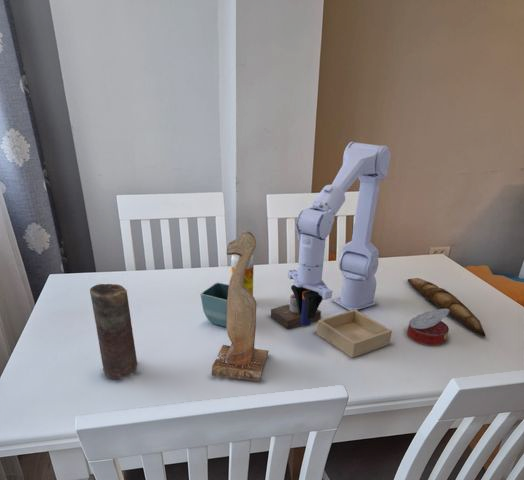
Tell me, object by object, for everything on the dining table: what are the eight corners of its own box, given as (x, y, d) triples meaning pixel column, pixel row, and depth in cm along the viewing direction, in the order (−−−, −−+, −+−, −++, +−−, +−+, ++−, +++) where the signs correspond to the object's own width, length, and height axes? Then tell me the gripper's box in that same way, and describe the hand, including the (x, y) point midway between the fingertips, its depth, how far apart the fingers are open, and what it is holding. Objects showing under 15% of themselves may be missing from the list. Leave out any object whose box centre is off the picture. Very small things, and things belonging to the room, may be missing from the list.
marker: (306, 320, 119) (309, 289, 115) (313, 324, 118) (316, 293, 113) (297, 322, 118) (300, 291, 114) (304, 327, 116) (307, 295, 112)
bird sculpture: (220, 351, 114) (217, 219, 97) (268, 355, 113) (274, 222, 97) (211, 378, 105) (206, 236, 88) (264, 382, 104) (269, 240, 87)
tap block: (302, 308, 135) (303, 299, 134) (320, 319, 130) (321, 310, 128) (270, 317, 130) (271, 308, 129) (287, 329, 125) (288, 320, 123)
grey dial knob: (297, 306, 131) (298, 291, 129) (305, 311, 128) (306, 296, 126) (286, 308, 129) (287, 294, 127) (294, 314, 127) (295, 299, 124)
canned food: (427, 361, 122) (423, 337, 115) (401, 339, 129) (396, 315, 121) (461, 336, 123) (460, 310, 115) (434, 316, 130) (431, 291, 122)
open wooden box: (352, 322, 129) (354, 309, 127) (389, 344, 119) (392, 330, 117) (316, 333, 123) (318, 320, 121) (352, 358, 113) (354, 343, 111)
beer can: (250, 309, 134) (251, 258, 126) (229, 307, 135) (228, 256, 127) (254, 300, 139) (255, 251, 131) (234, 298, 140) (234, 249, 132)
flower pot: (245, 318, 129) (246, 288, 124) (230, 332, 122) (230, 301, 117) (217, 311, 132) (216, 281, 127) (200, 325, 125) (199, 293, 120)
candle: (107, 361, 109) (93, 280, 98) (140, 361, 110) (129, 280, 99) (100, 381, 102) (85, 296, 92) (135, 380, 103) (123, 296, 93)
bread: (400, 282, 153) (403, 268, 151) (413, 281, 155) (416, 266, 152) (476, 340, 122) (481, 323, 120) (492, 338, 124) (498, 321, 121)
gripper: (278, 255, 113) (276, 307, 120) (316, 276, 102) (311, 331, 110) (302, 250, 116) (298, 301, 123) (341, 270, 106) (335, 324, 113)
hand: (306, 314), depth 117 cm, fingers closed on marker, 2 cm apart
